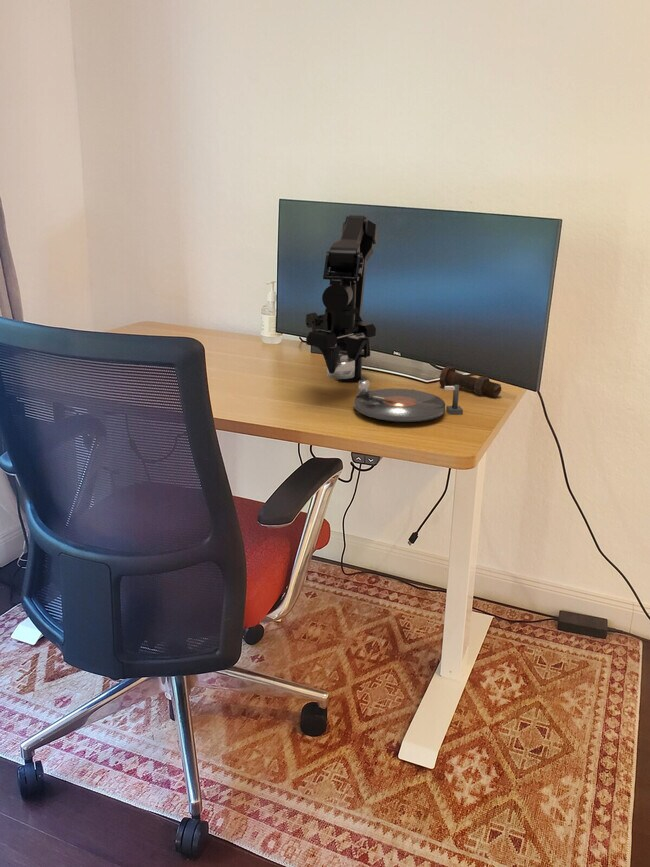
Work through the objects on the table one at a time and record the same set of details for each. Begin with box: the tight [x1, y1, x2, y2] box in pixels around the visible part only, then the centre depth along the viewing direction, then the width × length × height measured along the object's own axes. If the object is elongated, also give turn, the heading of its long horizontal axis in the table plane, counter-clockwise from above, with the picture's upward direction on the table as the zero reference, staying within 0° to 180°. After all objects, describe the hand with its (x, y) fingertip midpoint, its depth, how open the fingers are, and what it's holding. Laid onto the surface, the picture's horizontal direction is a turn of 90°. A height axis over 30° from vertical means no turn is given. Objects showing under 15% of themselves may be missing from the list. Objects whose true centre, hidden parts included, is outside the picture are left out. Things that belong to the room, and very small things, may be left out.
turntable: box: [353, 379, 446, 423], centre depth 166 cm, size 20×20×4 cm
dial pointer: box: [443, 385, 464, 415], centre depth 167 cm, size 3×4×6 cm
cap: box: [326, 353, 355, 380], centre depth 174 cm, size 6×6×5 cm
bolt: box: [439, 365, 502, 397], centre depth 182 cm, size 6×5×15 cm
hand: (340, 370), depth 175 cm, fingers closed on cap, 6 cm apart
